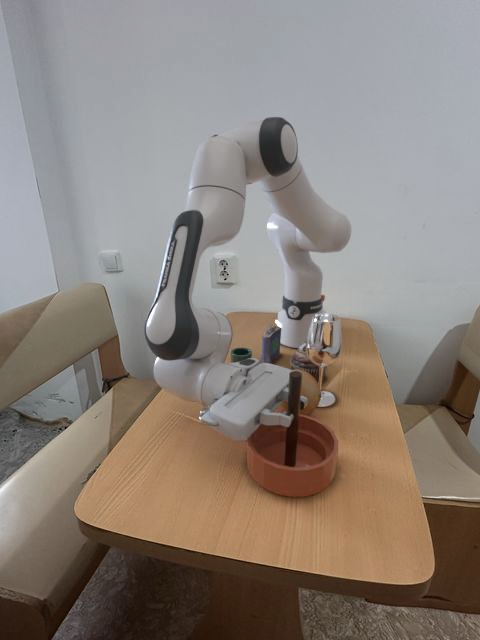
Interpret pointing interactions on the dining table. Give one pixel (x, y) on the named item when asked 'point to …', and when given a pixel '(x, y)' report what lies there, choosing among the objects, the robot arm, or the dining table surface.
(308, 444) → the bowl
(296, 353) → the cupcake
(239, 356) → the holder
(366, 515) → the dining table surface
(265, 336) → the blue box
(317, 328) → the wineglass
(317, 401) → the onion
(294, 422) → the stick
